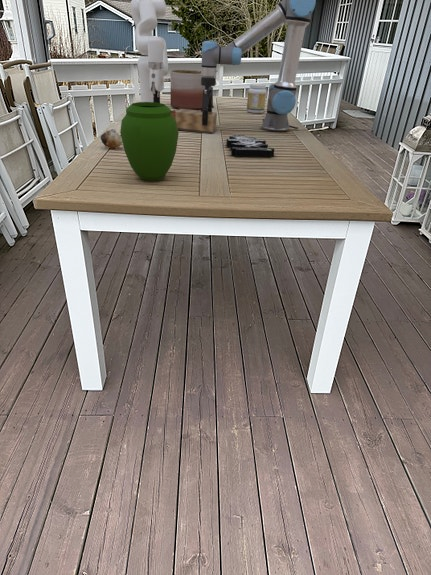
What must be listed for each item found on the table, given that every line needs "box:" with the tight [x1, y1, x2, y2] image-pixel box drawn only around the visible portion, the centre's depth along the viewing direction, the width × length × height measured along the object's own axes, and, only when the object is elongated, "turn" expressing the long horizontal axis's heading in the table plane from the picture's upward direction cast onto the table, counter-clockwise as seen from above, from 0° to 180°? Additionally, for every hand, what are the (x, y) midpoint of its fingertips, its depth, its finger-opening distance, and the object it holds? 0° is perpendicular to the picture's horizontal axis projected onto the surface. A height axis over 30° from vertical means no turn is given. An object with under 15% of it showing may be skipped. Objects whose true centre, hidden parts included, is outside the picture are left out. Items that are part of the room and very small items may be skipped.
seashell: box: [100, 128, 123, 149], centre depth 178 cm, size 10×6×8 cm, turn 91°
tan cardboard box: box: [175, 109, 218, 135], centre depth 218 cm, size 20×11×9 cm, turn 79°
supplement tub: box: [246, 83, 267, 114], centre depth 274 cm, size 12×12×17 cm
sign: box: [225, 134, 275, 158], centre depth 189 cm, size 19×3×30 cm
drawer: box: [171, 110, 177, 119], centre depth 220 cm, size 24×10×7 cm, turn 79°
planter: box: [170, 69, 205, 111], centre depth 276 cm, size 25×25×22 cm
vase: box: [119, 101, 179, 182], centre depth 140 cm, size 20×20×24 cm
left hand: (156, 104), depth 218 cm, fingers closed
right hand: (206, 123), depth 218 cm, fingers closed on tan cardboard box, 11 cm apart
